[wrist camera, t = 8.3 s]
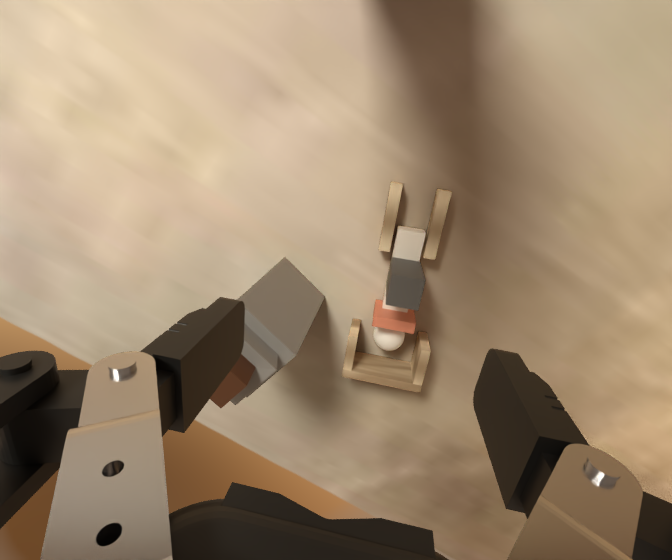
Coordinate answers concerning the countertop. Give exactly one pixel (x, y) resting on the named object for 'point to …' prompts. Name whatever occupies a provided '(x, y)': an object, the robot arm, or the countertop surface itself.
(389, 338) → the ball
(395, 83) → the countertop surface
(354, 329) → the box
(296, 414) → the countertop surface
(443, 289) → the countertop surface
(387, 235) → the rail guide
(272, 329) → the perfume bottle
